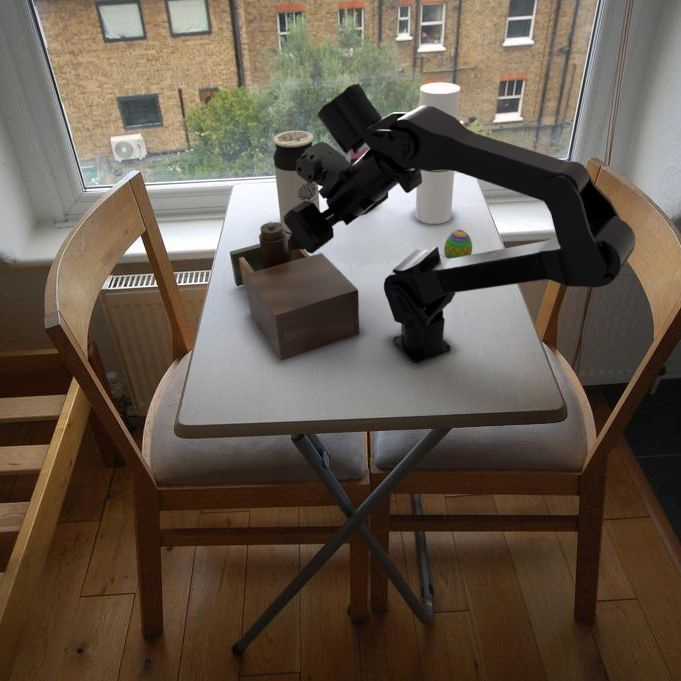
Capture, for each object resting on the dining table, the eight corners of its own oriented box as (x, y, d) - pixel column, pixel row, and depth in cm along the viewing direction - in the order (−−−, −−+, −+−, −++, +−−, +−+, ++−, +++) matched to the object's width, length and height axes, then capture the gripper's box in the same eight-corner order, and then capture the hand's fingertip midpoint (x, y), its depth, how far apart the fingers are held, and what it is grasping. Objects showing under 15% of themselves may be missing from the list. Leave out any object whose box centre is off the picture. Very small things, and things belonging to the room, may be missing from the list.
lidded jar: (295, 286, 104) (289, 224, 97) (271, 294, 102) (263, 231, 95) (285, 274, 107) (278, 213, 100) (261, 281, 105) (253, 219, 98)
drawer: (232, 280, 108) (227, 248, 104) (295, 262, 112) (292, 231, 108) (258, 317, 99) (253, 283, 95) (325, 296, 103) (323, 263, 99)
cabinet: (251, 317, 101) (244, 274, 96) (324, 294, 105) (321, 252, 100) (280, 360, 91) (275, 315, 87) (359, 333, 96) (358, 289, 91)
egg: (467, 252, 114) (470, 222, 110) (473, 266, 110) (477, 235, 107) (441, 254, 114) (443, 224, 110) (446, 268, 110) (448, 237, 106)
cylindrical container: (456, 212, 127) (466, 85, 112) (441, 226, 122) (450, 95, 107) (425, 205, 130) (430, 80, 115) (409, 219, 126) (413, 91, 110)
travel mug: (276, 221, 127) (266, 134, 116) (313, 213, 129) (306, 127, 118) (288, 238, 121) (278, 148, 110) (326, 230, 123) (320, 140, 112)
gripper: (370, 108, 87) (312, 169, 99) (288, 152, 75) (233, 215, 87) (418, 173, 88) (355, 225, 100) (344, 226, 76) (282, 278, 88)
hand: (308, 233), depth 94 cm, fingers open, 9 cm apart
